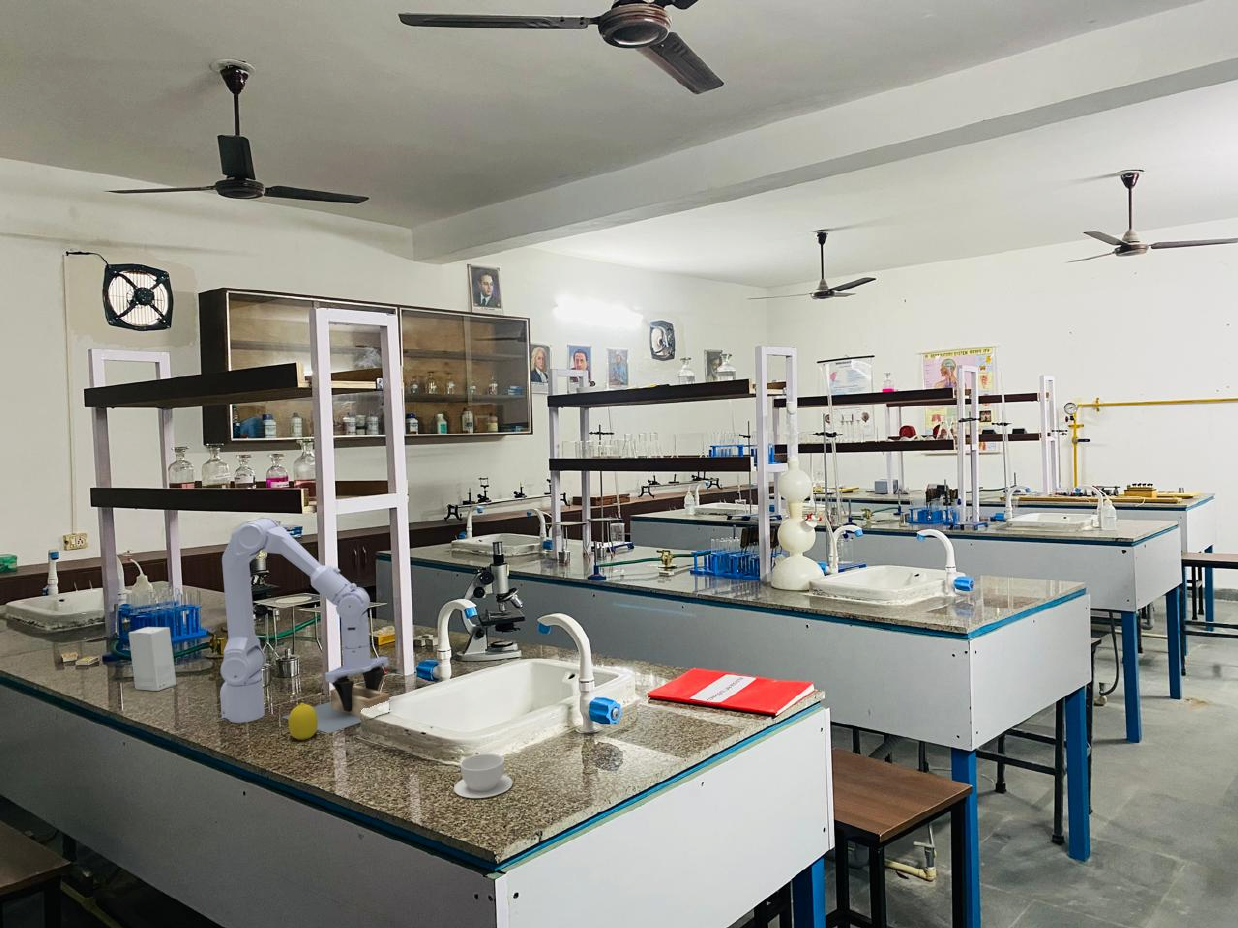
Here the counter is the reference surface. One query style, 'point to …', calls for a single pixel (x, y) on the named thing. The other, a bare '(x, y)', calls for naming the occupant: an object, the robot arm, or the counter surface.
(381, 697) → the open wooden crate
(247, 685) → the robot arm
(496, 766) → the teacup
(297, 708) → the lemon
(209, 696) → the counter surface
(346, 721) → the board
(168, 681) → the skincare box
